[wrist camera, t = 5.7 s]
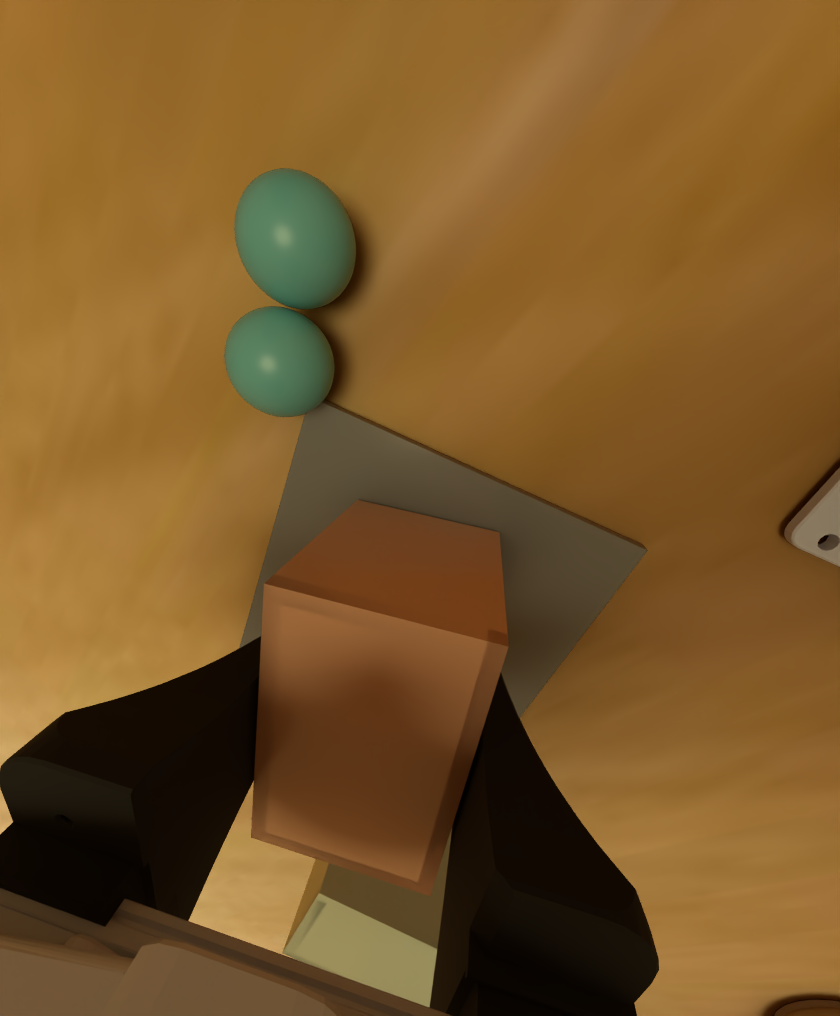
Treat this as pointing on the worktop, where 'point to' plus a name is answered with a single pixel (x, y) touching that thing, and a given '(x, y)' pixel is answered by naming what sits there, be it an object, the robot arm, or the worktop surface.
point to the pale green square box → (370, 929)
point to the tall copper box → (376, 689)
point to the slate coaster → (463, 499)
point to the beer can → (810, 1008)
